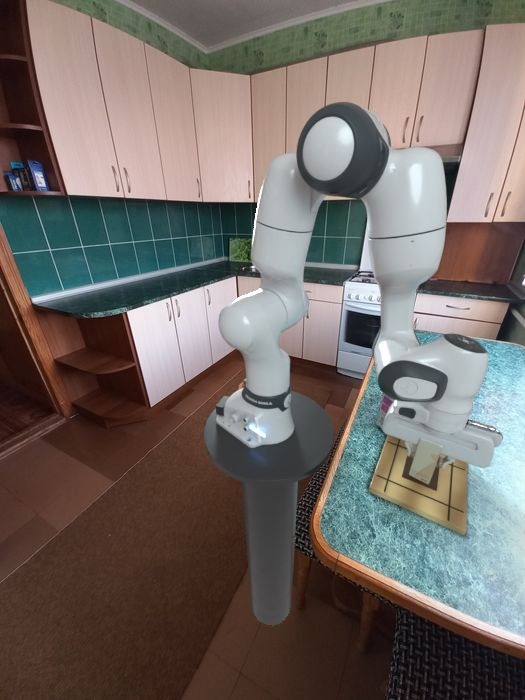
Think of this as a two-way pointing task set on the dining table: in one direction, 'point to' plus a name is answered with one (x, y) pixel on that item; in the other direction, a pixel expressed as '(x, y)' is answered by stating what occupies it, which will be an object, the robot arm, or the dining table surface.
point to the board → (422, 487)
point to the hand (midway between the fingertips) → (425, 460)
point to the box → (425, 460)
